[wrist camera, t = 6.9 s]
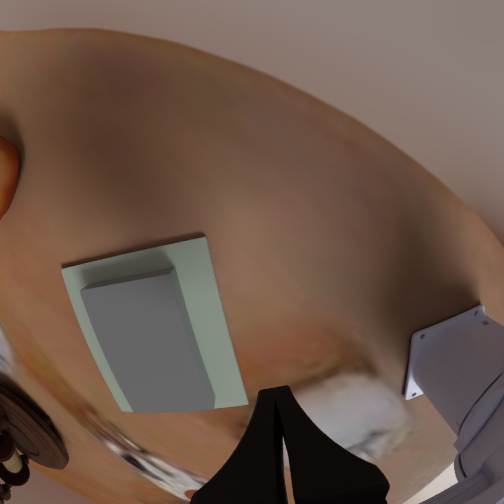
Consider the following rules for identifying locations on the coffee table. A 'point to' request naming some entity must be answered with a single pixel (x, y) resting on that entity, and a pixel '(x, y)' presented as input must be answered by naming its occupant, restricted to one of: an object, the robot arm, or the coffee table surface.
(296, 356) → the coffee table surface
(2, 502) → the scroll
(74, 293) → the felt mat
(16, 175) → the fruit
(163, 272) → the slate tile
